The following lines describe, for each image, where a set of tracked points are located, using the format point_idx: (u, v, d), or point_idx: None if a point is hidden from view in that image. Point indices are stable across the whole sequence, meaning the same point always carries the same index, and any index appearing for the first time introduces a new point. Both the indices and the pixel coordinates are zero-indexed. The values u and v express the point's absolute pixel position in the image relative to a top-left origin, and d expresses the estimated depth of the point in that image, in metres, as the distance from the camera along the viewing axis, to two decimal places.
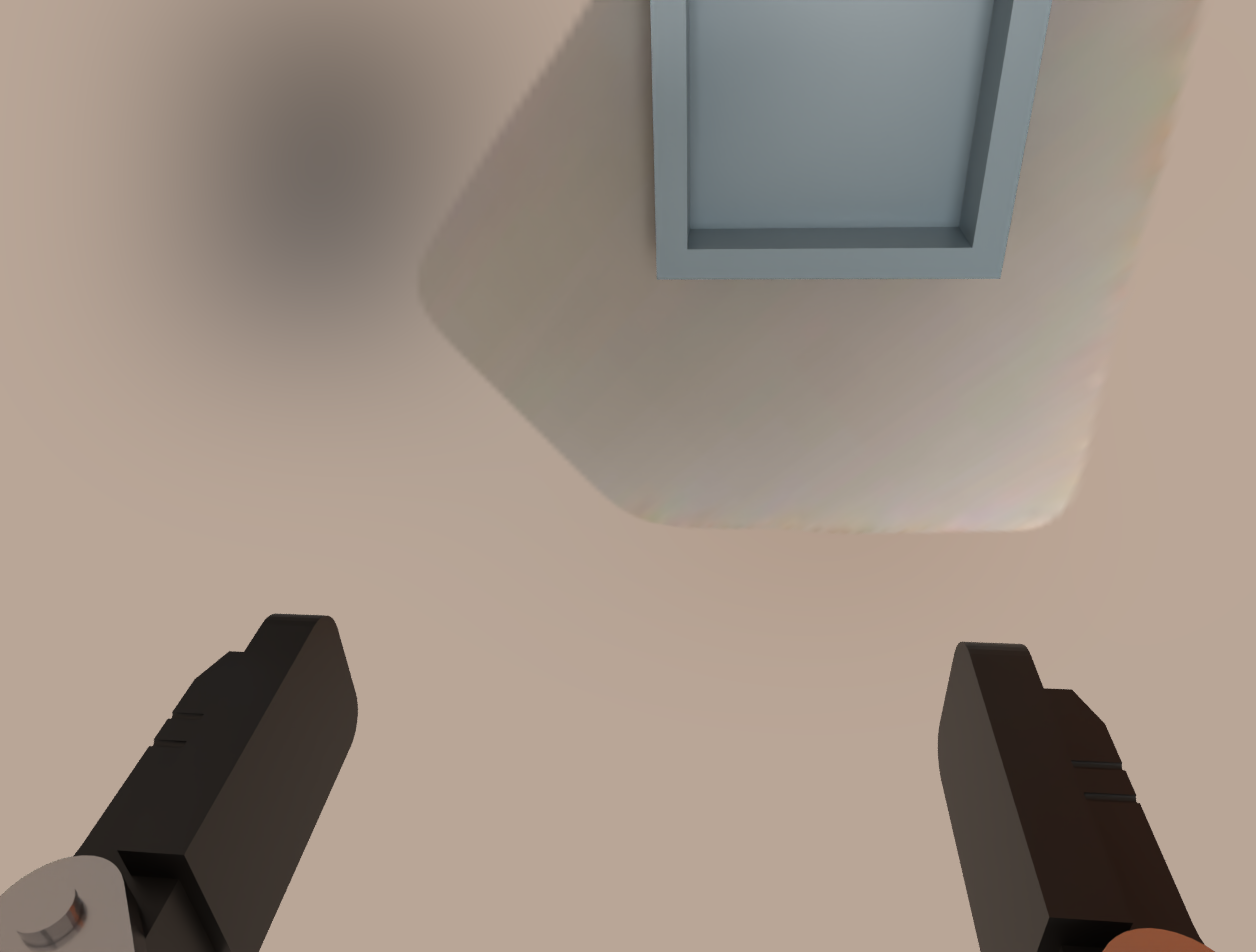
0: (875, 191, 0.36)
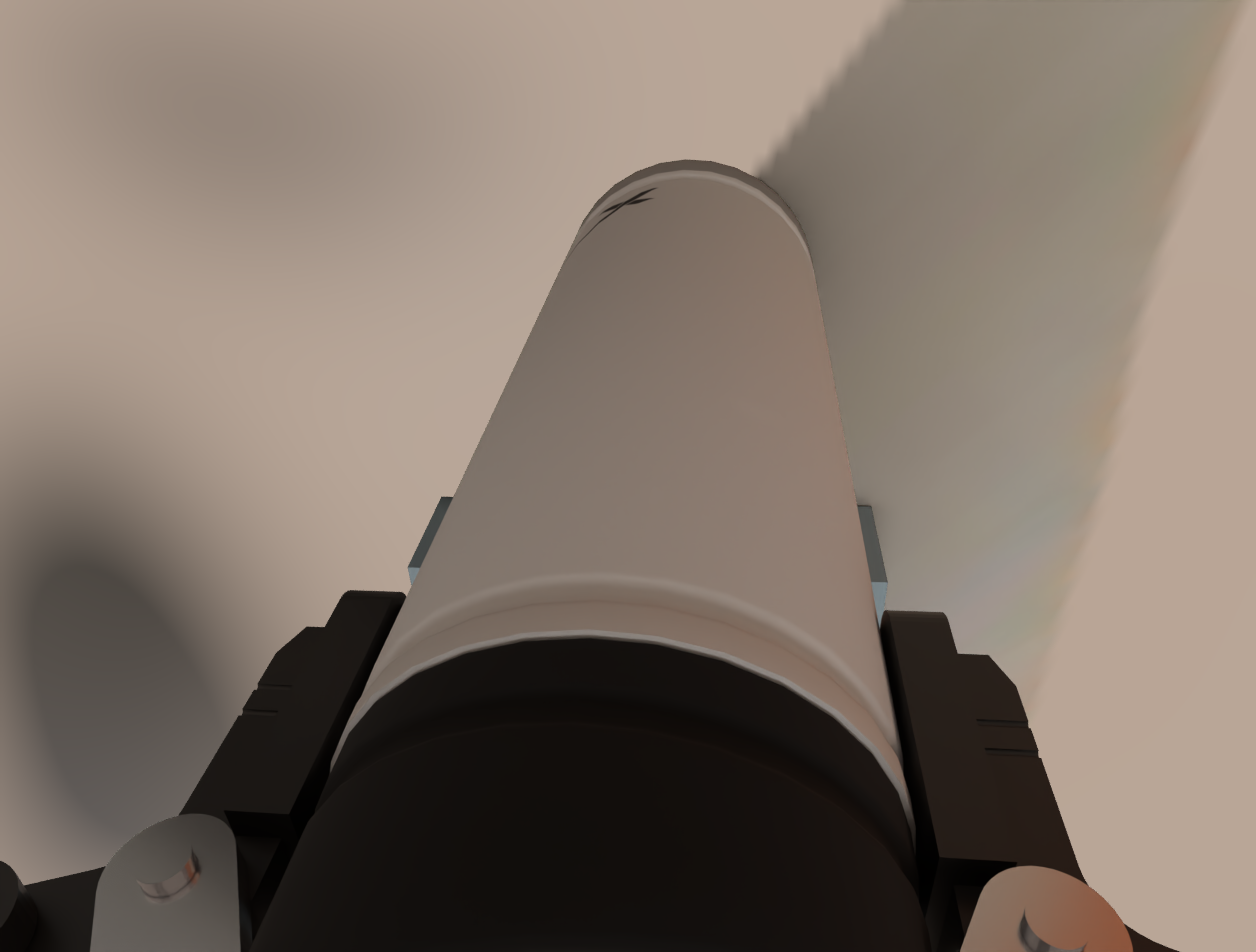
0: None
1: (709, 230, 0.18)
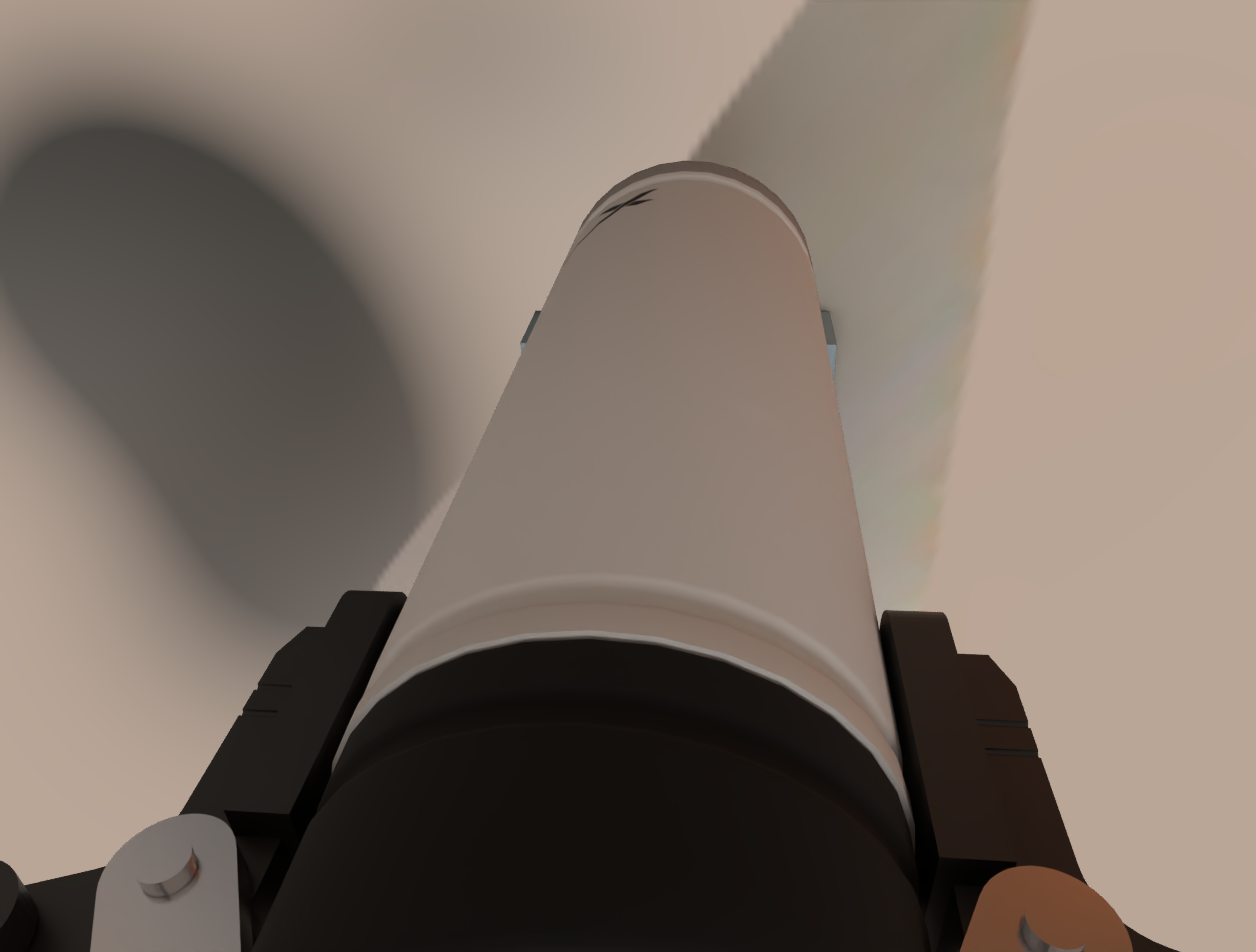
0: None
1: (709, 231, 0.18)
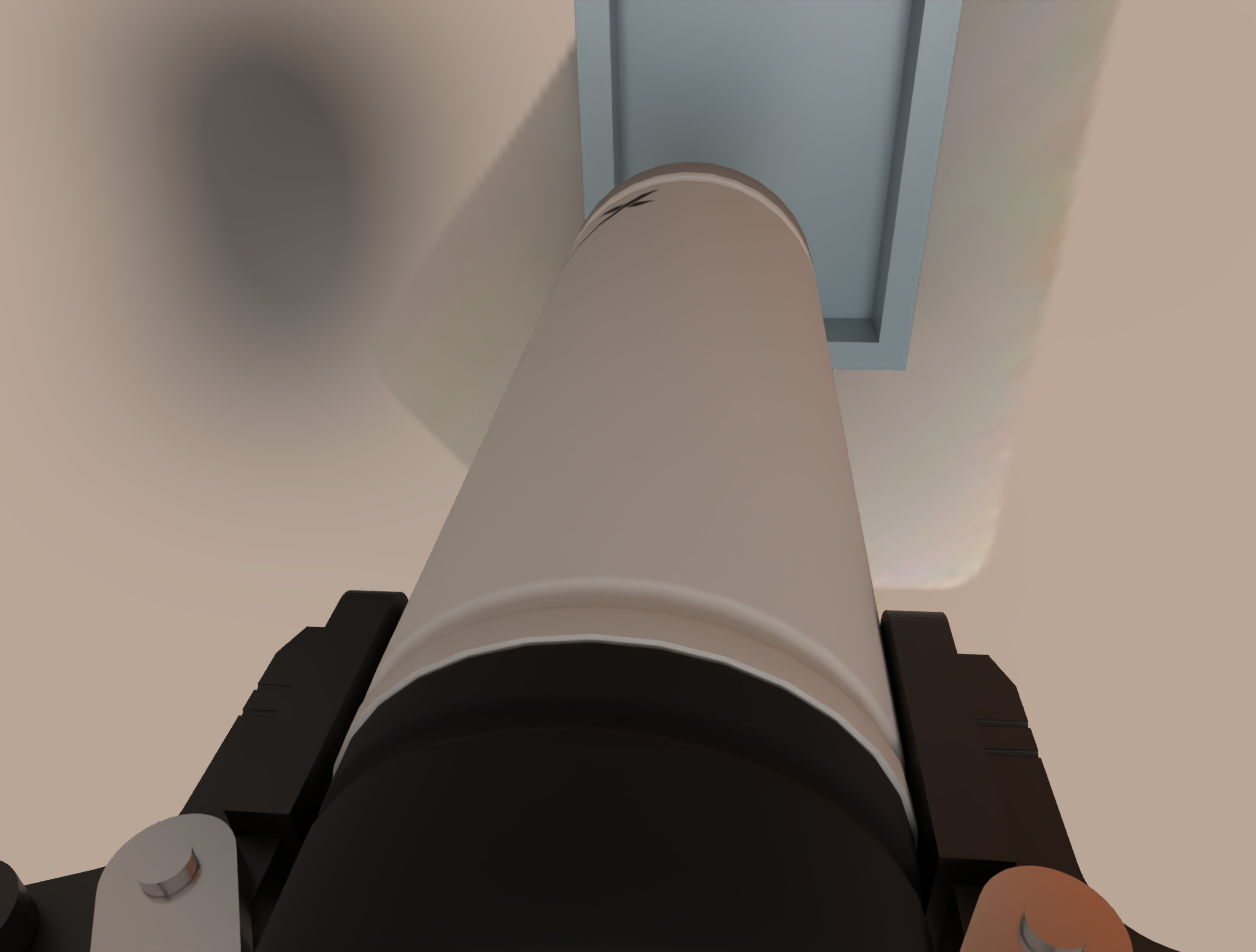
0: None
1: (710, 232, 0.18)
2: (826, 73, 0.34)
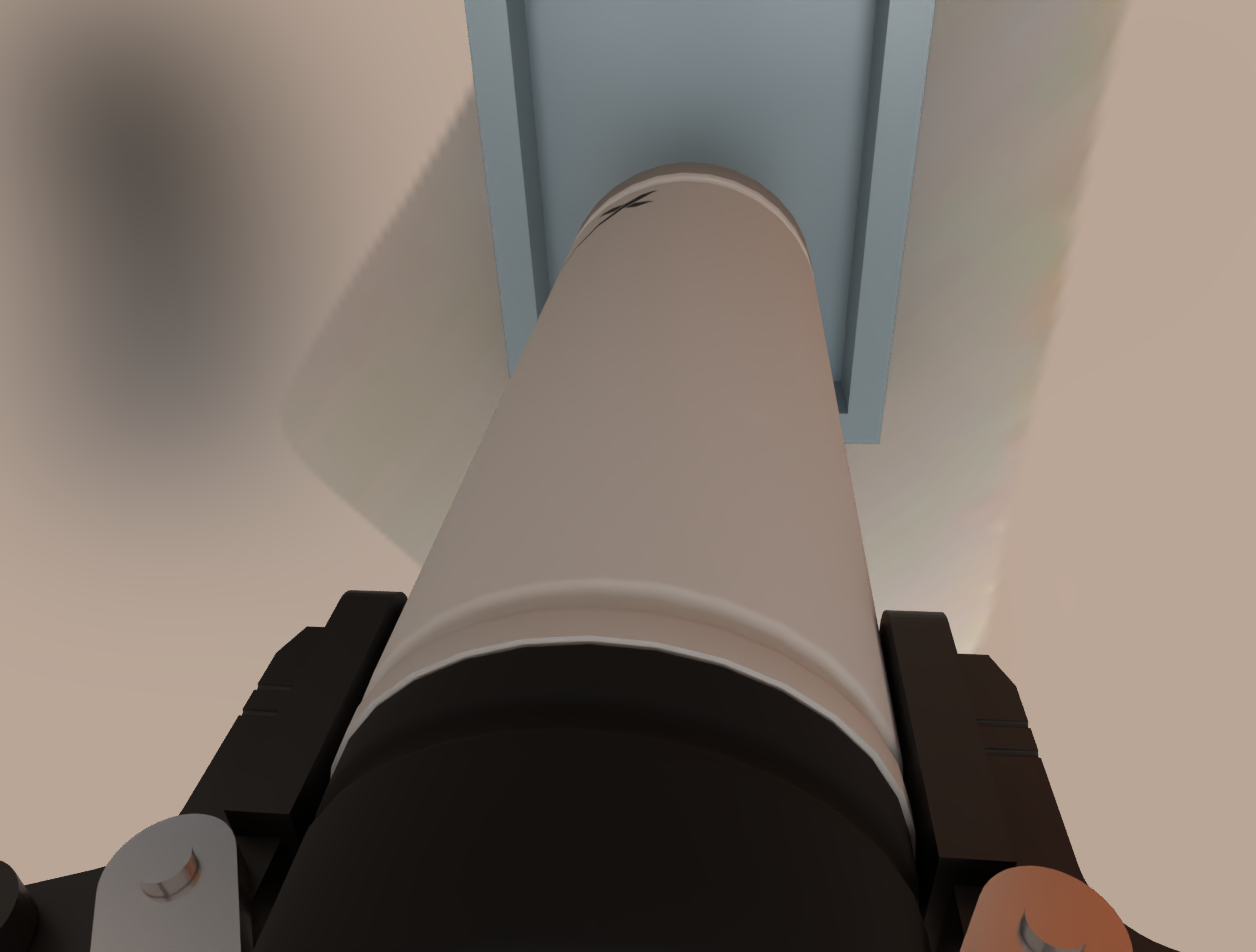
0: None
1: (708, 233, 0.18)
2: (777, 103, 0.29)
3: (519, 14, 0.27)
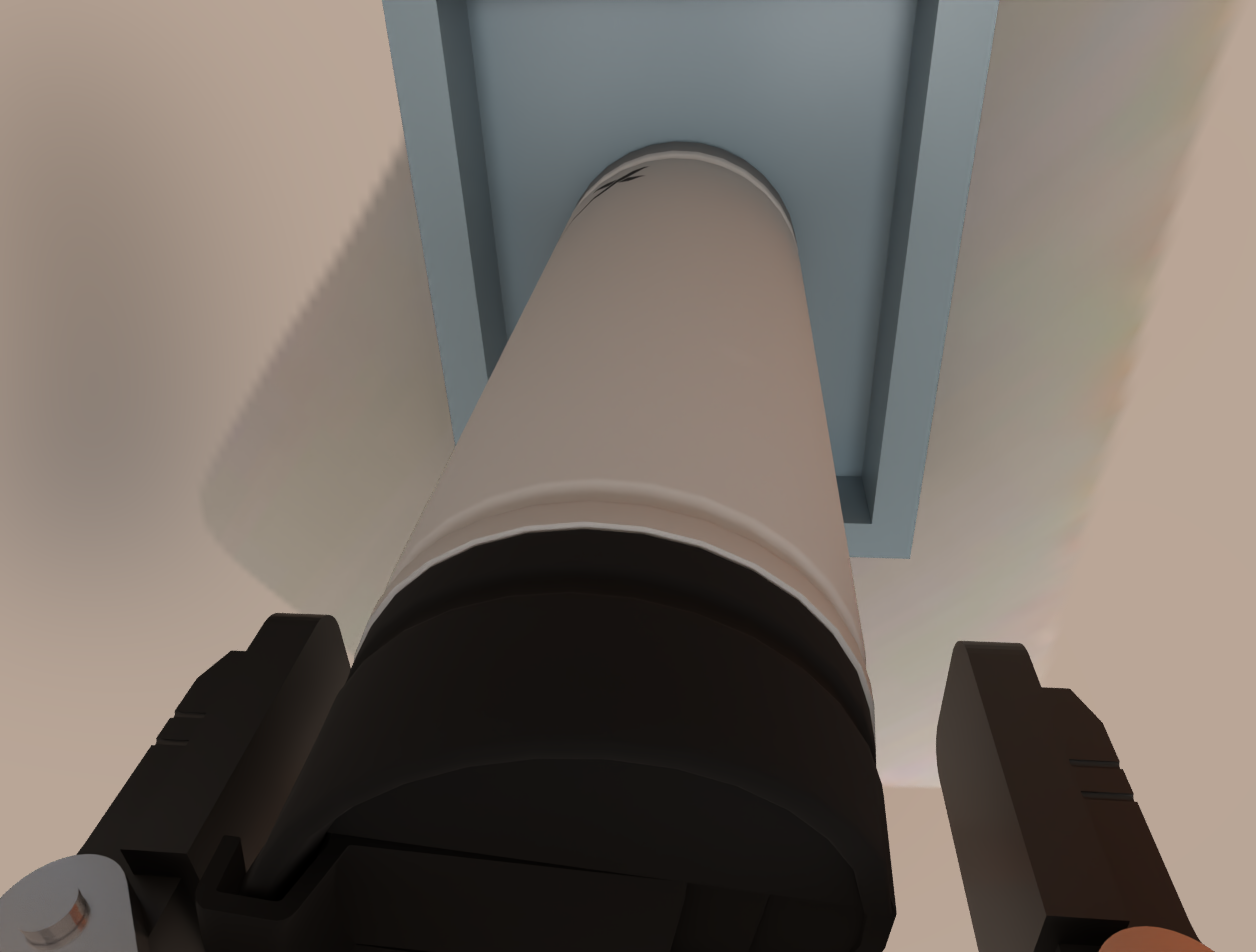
0: None
1: (696, 202, 0.19)
2: (786, 150, 0.23)
3: (461, 41, 0.22)
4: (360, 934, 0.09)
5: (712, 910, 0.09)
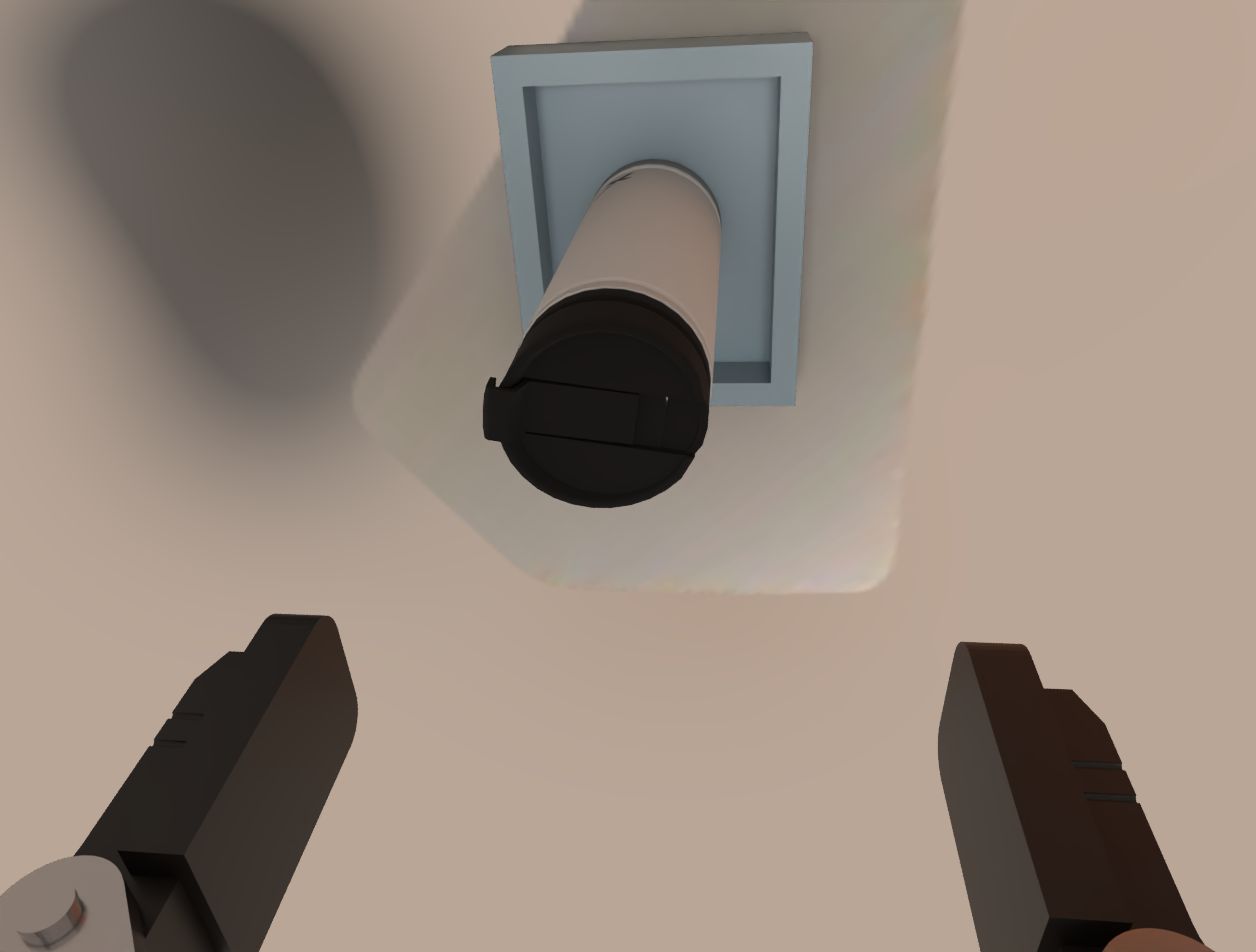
0: None
1: (657, 189, 0.37)
2: (712, 163, 0.41)
3: (532, 106, 0.40)
4: (528, 426, 0.27)
5: (648, 414, 0.27)
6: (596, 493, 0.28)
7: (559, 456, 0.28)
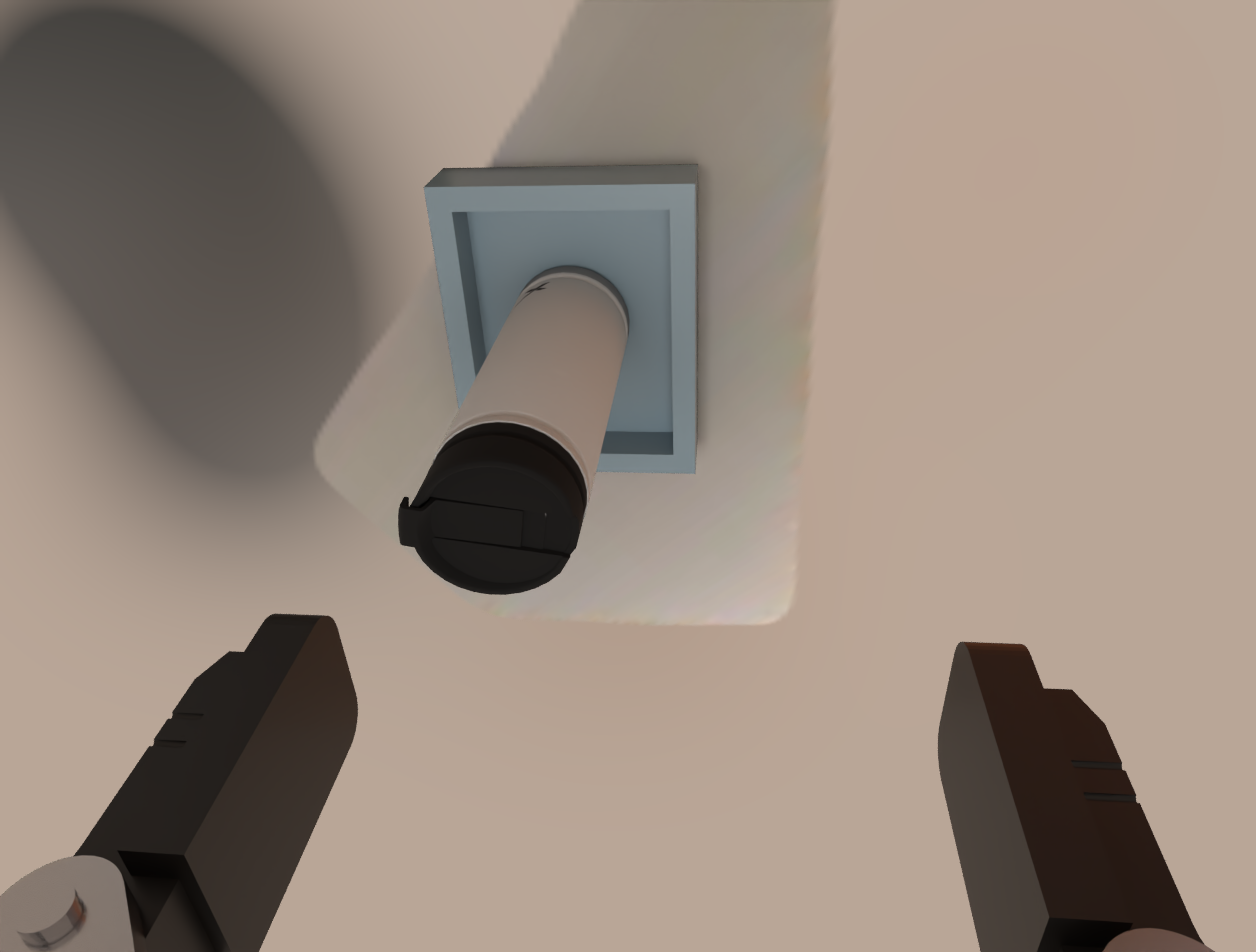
0: (616, 409, 0.52)
1: (564, 304, 0.43)
2: (620, 270, 0.48)
3: (463, 222, 0.46)
4: (436, 533, 0.34)
5: (532, 524, 0.34)
6: (493, 582, 0.35)
7: (462, 555, 0.34)
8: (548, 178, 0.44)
